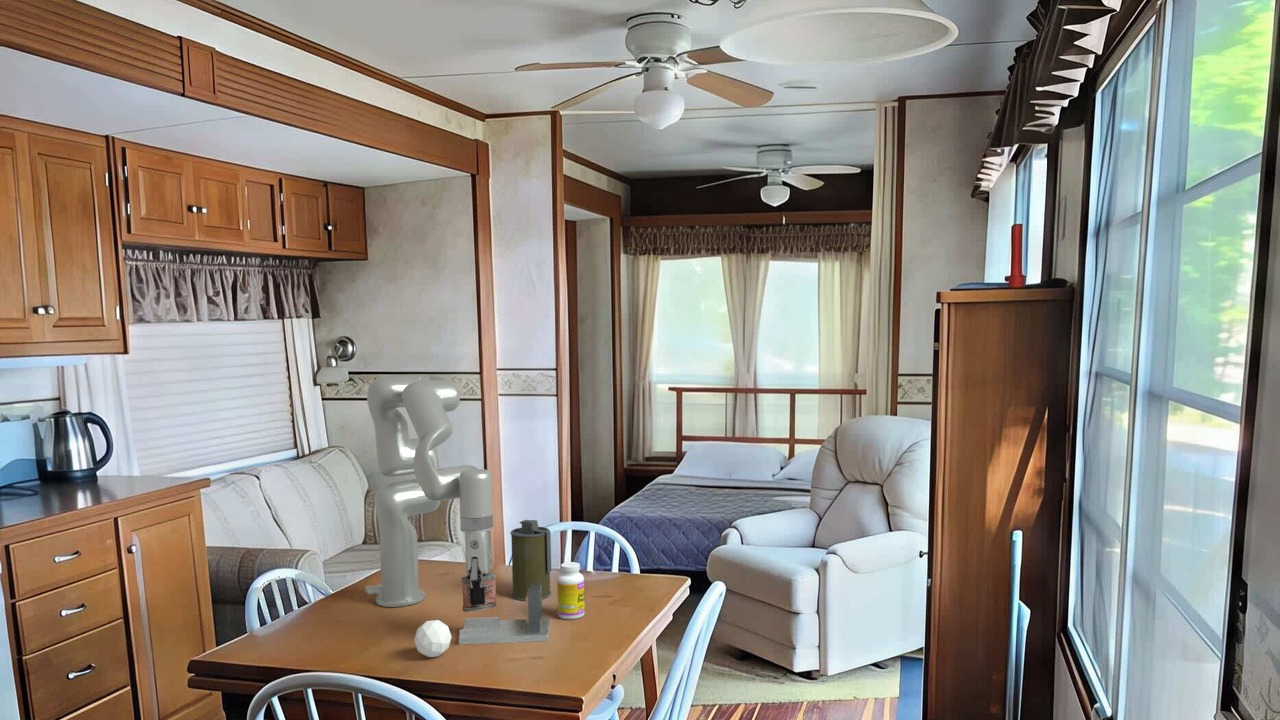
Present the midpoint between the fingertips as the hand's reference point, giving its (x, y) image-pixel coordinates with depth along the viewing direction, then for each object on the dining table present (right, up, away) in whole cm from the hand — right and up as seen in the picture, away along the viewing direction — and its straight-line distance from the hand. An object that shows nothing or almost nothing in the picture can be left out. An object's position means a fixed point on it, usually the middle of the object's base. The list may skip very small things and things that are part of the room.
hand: (479, 600), depth 194 cm
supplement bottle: (+20, -8, +12) cm, 25 cm away
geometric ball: (-8, -9, -11) cm, 16 cm away
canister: (+9, -7, +30) cm, 32 cm away
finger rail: (+6, -8, +1) cm, 10 cm away
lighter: (0, -2, 0) cm, 2 cm away
